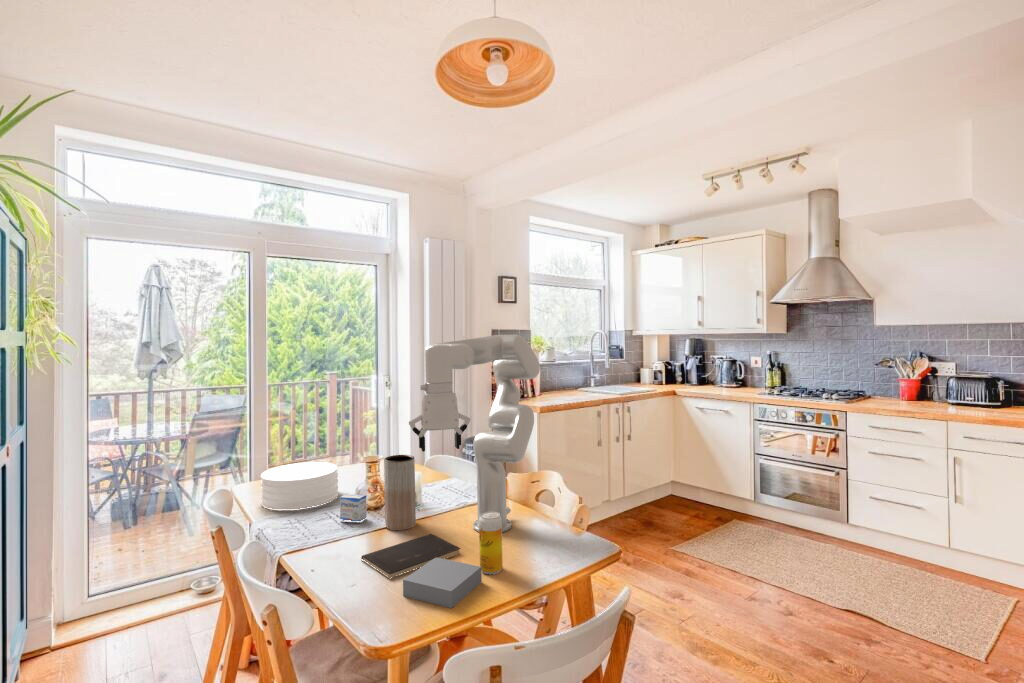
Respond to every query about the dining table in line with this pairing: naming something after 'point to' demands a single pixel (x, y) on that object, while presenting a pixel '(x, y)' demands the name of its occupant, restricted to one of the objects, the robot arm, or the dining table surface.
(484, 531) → the beer can
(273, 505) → the plate stack
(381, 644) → the dining table surface
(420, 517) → the dining table surface
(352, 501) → the medicine box
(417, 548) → the hardcover book
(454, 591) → the plate
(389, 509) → the planter
